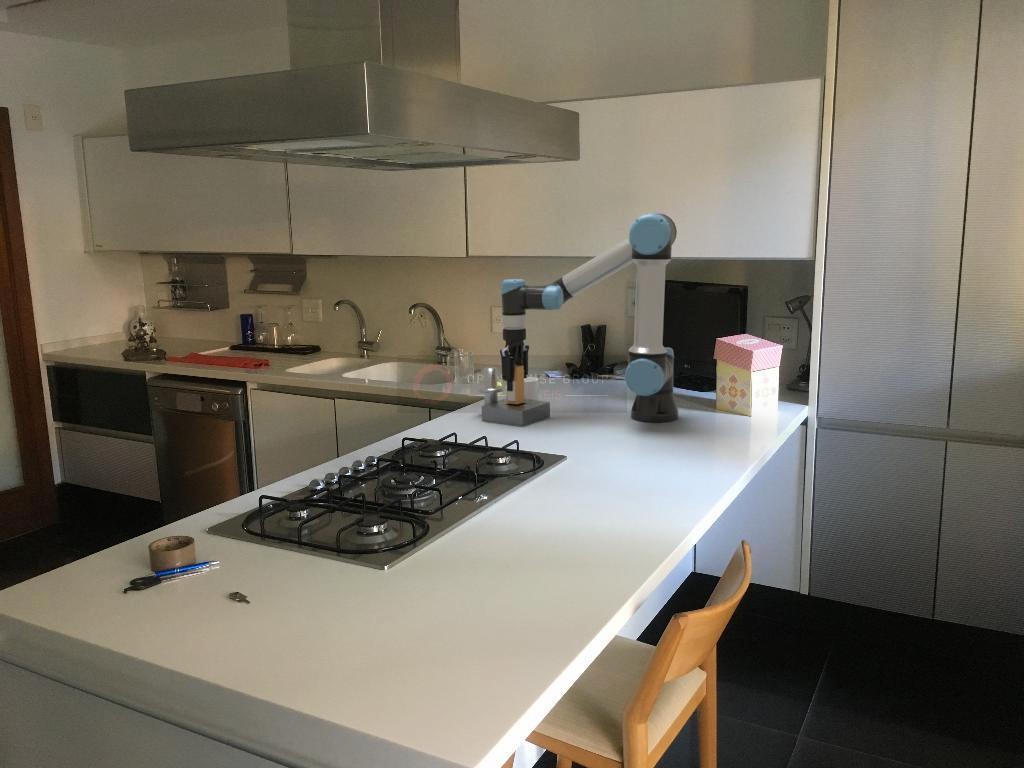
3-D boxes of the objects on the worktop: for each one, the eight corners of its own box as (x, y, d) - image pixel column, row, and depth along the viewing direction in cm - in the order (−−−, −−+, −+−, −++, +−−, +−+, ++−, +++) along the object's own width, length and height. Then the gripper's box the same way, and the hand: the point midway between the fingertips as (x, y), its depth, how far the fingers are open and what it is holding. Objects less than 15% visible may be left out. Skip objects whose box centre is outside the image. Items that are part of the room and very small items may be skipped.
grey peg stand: (549, 416, 274) (549, 368, 271) (522, 426, 262) (521, 376, 259) (495, 409, 287) (494, 363, 284) (466, 418, 274) (465, 370, 271)
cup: (534, 411, 283) (533, 381, 281) (501, 409, 287) (500, 380, 285) (541, 406, 291) (541, 377, 289) (509, 404, 295) (509, 376, 293)
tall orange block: (524, 402, 272) (523, 365, 270) (517, 404, 269) (516, 367, 266) (514, 400, 274) (513, 364, 272) (507, 403, 271) (506, 366, 269)
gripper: (519, 324, 276) (521, 393, 280) (489, 330, 262) (491, 403, 266) (538, 325, 272) (539, 395, 276) (508, 331, 258) (510, 405, 262)
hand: (515, 399), depth 271 cm, fingers closed on tall orange block, 4 cm apart
